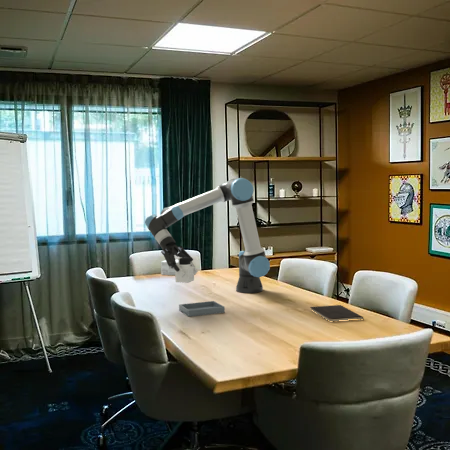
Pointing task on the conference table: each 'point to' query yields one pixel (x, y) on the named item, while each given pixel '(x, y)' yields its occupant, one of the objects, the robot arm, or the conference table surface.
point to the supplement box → (167, 268)
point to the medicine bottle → (185, 270)
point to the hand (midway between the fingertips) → (189, 274)
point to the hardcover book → (335, 313)
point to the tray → (201, 308)
